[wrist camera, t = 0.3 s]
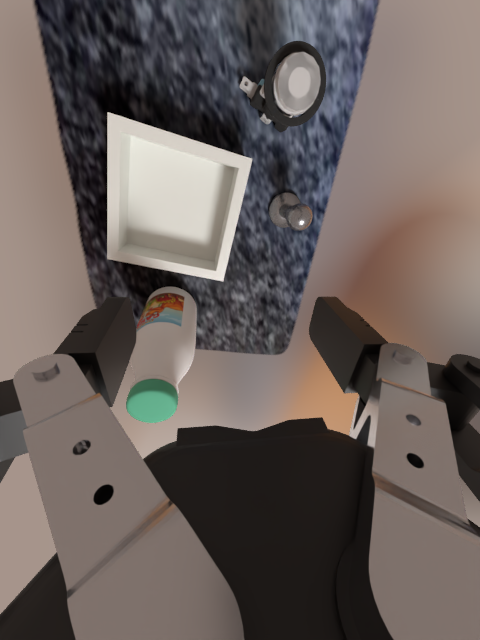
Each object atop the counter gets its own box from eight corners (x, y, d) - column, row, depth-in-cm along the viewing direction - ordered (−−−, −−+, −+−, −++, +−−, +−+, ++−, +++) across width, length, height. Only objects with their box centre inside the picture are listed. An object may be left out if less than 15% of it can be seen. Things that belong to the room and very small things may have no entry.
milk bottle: (203, 294, 40) (206, 389, 23) (187, 332, 43) (178, 439, 26) (154, 277, 37) (116, 368, 20) (141, 319, 40) (98, 427, 23)
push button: (228, 110, 28) (241, 85, 20) (253, 54, 26) (278, -1, 18) (275, 146, 31) (304, 138, 22) (301, 98, 29) (344, 68, 20)
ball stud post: (274, 188, 33) (292, 192, 26) (304, 197, 34) (328, 203, 28) (264, 222, 35) (279, 234, 29) (292, 229, 36) (313, 243, 30)
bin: (121, 120, 27) (107, 111, 23) (245, 160, 31) (252, 159, 27) (118, 248, 34) (107, 258, 30) (220, 269, 38) (223, 281, 34)
